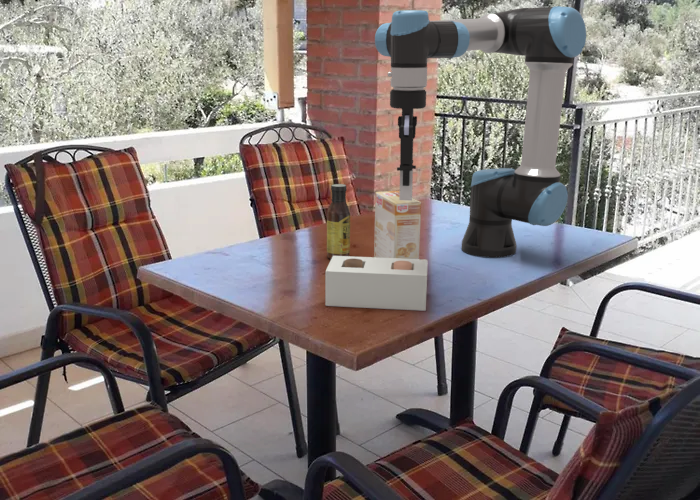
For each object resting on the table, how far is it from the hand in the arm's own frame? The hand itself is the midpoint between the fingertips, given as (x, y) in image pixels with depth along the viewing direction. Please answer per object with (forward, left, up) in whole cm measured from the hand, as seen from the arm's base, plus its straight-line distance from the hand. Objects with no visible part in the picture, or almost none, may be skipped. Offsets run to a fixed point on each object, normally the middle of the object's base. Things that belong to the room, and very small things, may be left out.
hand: (405, 199), depth 154 cm
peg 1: (+11, 0, -23) cm, 25 cm away
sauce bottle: (+19, -31, -23) cm, 43 cm away
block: (+6, 0, -23) cm, 24 cm away
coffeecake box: (+3, -21, -23) cm, 31 cm away
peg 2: (0, 0, -23) cm, 23 cm away
